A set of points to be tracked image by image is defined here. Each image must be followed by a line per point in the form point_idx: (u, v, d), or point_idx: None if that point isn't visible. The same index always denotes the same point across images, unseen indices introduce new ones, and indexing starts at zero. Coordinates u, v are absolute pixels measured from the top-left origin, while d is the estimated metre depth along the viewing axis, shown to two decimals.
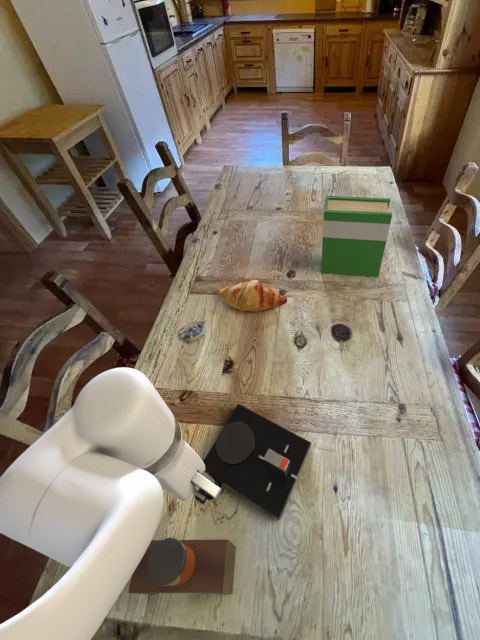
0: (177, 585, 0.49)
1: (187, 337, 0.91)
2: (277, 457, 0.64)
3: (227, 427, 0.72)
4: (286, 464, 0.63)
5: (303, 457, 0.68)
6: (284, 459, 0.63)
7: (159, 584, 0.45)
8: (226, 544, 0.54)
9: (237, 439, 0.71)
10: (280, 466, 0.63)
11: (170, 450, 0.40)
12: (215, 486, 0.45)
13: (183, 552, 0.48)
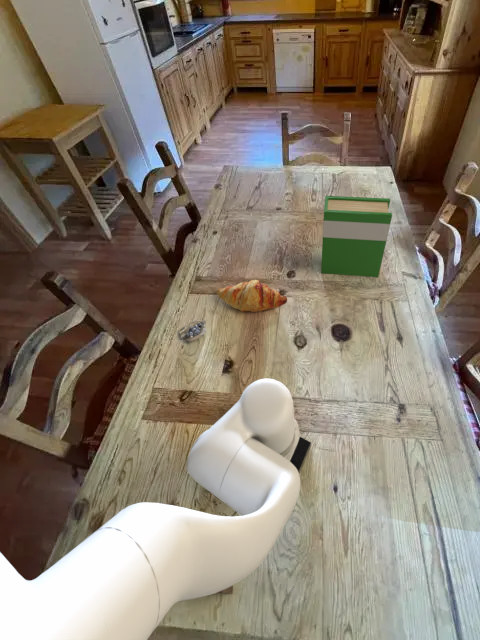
0: None
1: (187, 337, 0.91)
2: None
3: None
4: None
5: (303, 457, 0.68)
6: None
7: None
8: None
9: None
10: None
11: None
12: None
13: None
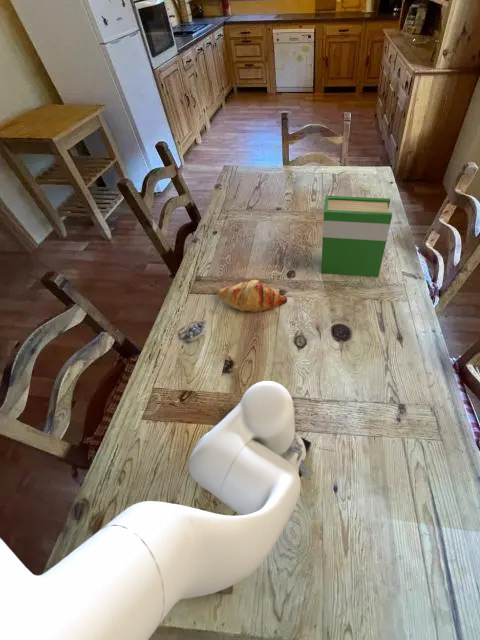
0: None
1: (187, 337, 0.91)
2: None
3: None
4: None
5: None
6: None
7: None
8: None
9: None
10: None
11: None
12: None
13: None
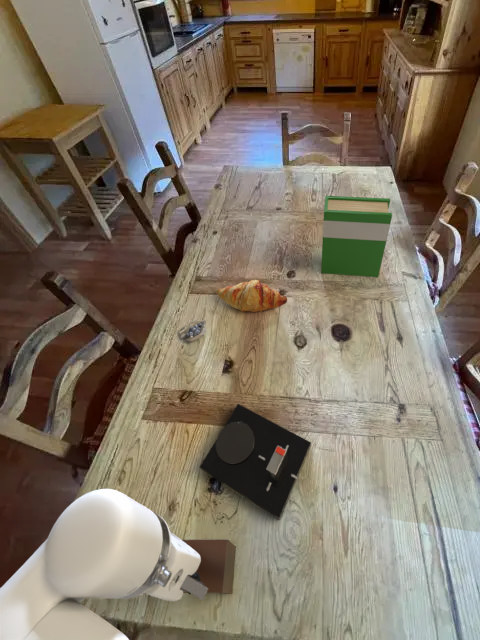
0: None
1: (187, 337, 0.91)
2: (274, 458, 0.64)
3: (227, 427, 0.72)
4: (281, 448, 0.65)
5: (303, 457, 0.68)
6: (276, 450, 0.64)
7: None
8: (226, 544, 0.54)
9: (237, 439, 0.71)
10: (282, 454, 0.64)
11: None
12: None
13: None
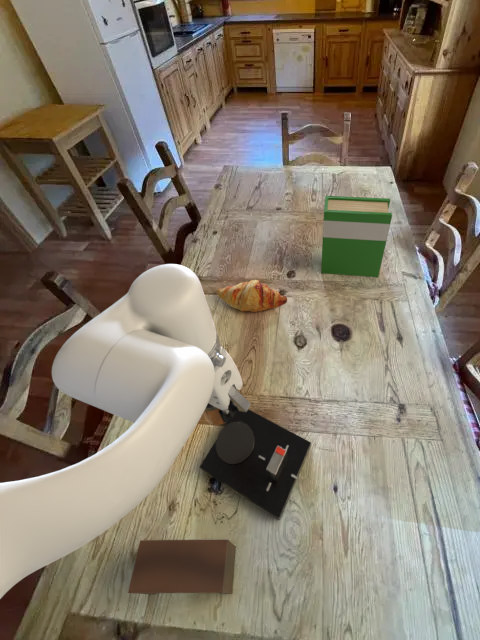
0: (218, 419, 0.54)
1: None
2: (274, 458, 0.64)
3: (227, 427, 0.72)
4: (281, 448, 0.65)
5: (303, 457, 0.68)
6: (276, 450, 0.64)
7: None
8: (226, 544, 0.54)
9: (237, 439, 0.71)
10: (282, 454, 0.64)
11: None
12: None
13: None
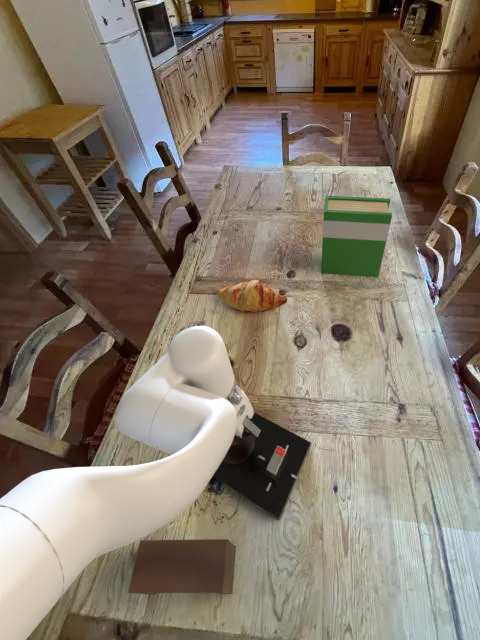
0: (232, 441, 0.64)
1: None
2: (274, 458, 0.64)
3: None
4: (281, 448, 0.65)
5: (303, 457, 0.68)
6: (276, 450, 0.64)
7: None
8: (226, 544, 0.54)
9: None
10: (282, 454, 0.64)
11: None
12: None
13: None
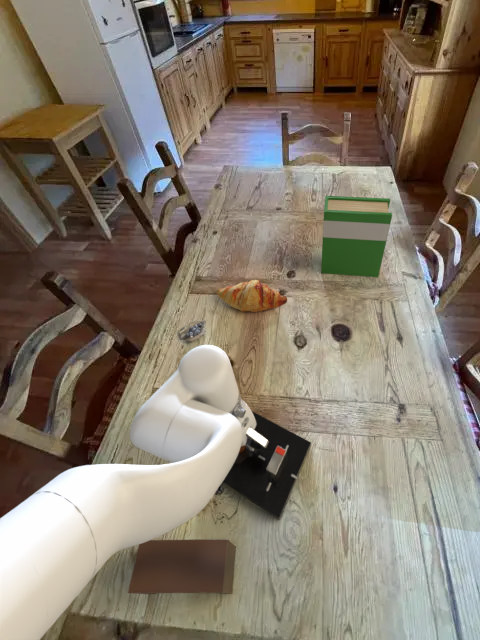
0: None
1: (187, 337, 0.91)
2: (274, 458, 0.64)
3: None
4: (281, 448, 0.65)
5: (303, 457, 0.68)
6: (276, 450, 0.64)
7: None
8: (226, 544, 0.54)
9: None
10: (282, 454, 0.64)
11: None
12: None
13: None
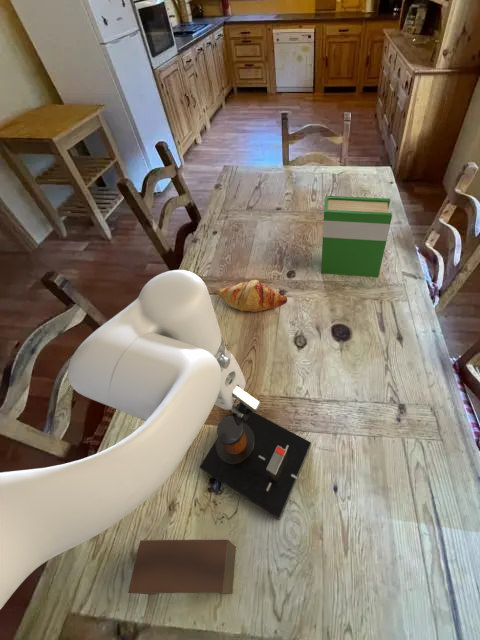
0: (236, 450, 0.67)
1: None
2: (274, 458, 0.64)
3: None
4: (281, 448, 0.65)
5: (303, 457, 0.68)
6: (276, 450, 0.64)
7: (226, 442, 0.64)
8: (226, 544, 0.54)
9: None
10: (282, 454, 0.64)
11: None
12: None
13: (241, 424, 0.66)
